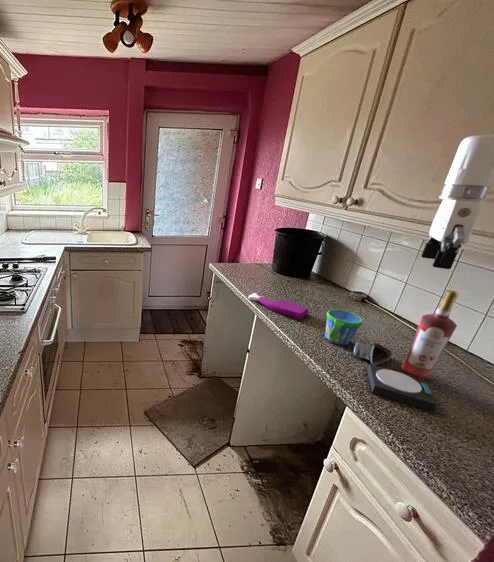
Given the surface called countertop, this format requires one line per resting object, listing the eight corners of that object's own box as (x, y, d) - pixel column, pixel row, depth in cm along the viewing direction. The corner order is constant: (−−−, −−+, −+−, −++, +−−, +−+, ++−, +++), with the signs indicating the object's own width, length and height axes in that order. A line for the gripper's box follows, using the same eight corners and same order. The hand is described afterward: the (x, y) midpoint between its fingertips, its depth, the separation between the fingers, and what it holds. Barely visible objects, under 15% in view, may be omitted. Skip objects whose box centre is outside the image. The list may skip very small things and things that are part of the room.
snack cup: (343, 354, 106) (352, 328, 102) (311, 339, 114) (318, 315, 110) (361, 340, 114) (370, 316, 110) (330, 328, 122) (338, 305, 118)
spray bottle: (298, 321, 127) (243, 301, 145) (309, 314, 133) (256, 295, 151) (299, 314, 126) (244, 295, 144) (311, 308, 132) (257, 290, 150)
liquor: (430, 375, 97) (471, 292, 86) (429, 385, 92) (472, 299, 81) (400, 364, 101) (435, 285, 91) (397, 373, 97) (434, 291, 86)
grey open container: (369, 348, 111) (355, 329, 106) (393, 353, 104) (379, 333, 100) (358, 370, 108) (343, 352, 104) (382, 377, 102) (367, 358, 98)
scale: (421, 386, 91) (425, 377, 90) (433, 411, 82) (437, 402, 81) (366, 370, 98) (370, 362, 97) (371, 392, 88) (375, 384, 87)
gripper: (504, 197, 64) (468, 275, 70) (470, 191, 78) (442, 257, 84) (455, 194, 68) (425, 269, 74) (430, 189, 82) (407, 252, 88)
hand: (434, 262), depth 79 cm, fingers open, 9 cm apart
